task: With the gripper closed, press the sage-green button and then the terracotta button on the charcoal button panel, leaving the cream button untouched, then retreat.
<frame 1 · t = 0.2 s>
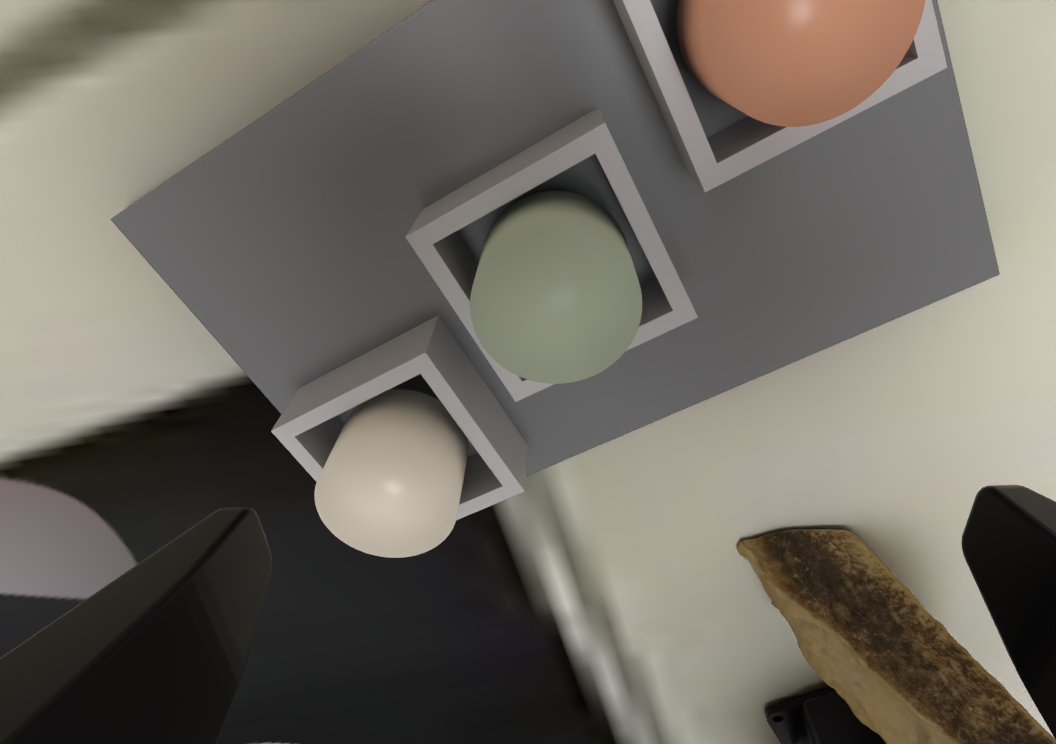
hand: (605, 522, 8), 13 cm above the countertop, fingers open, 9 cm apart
sage button: (555, 285, 16), point 4 cm above the countertop, slide at 0.0 cm
panel: (554, 236, 20), on the countertop
cream button: (397, 472, 20), point 4 cm above the countertop, slide at 0.0 cm
terracotta button: (787, 11, 13), point 4 cm above the countertop, slide at 0.0 cm
rock: (841, 604, 28), on the countertop, touching arm
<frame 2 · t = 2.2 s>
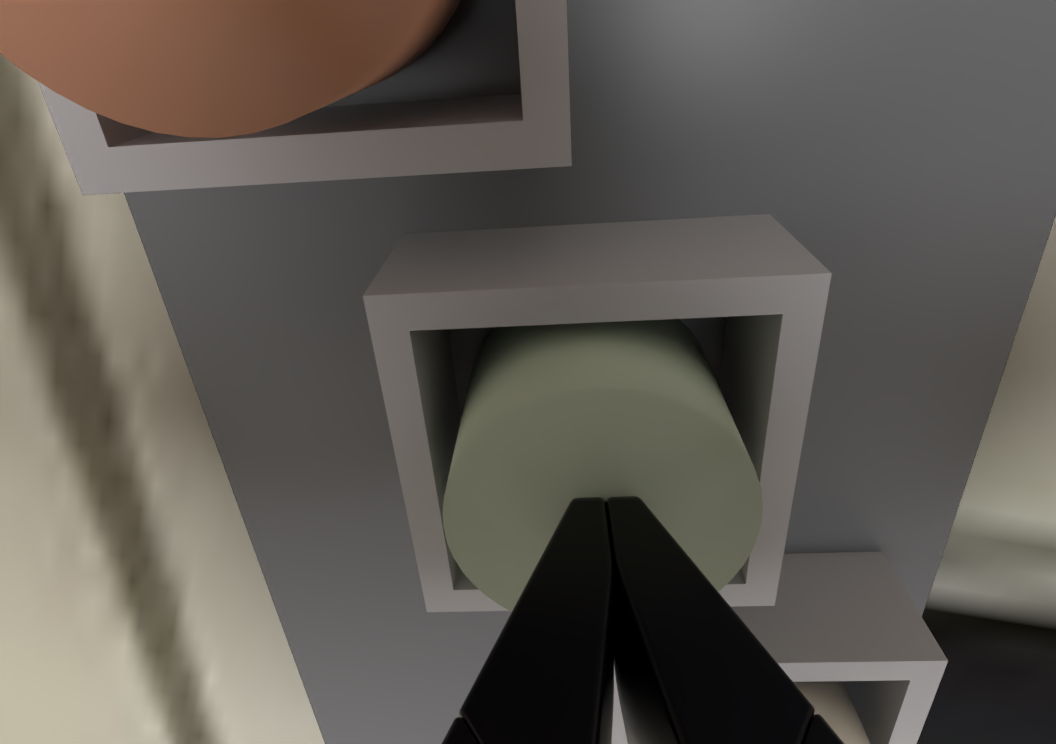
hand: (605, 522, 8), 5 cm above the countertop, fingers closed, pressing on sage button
sage button: (593, 453, 10), point 3 cm above the countertop, slide at 0.9 cm, touching gripper
panel: (584, 355, 12), on the countertop
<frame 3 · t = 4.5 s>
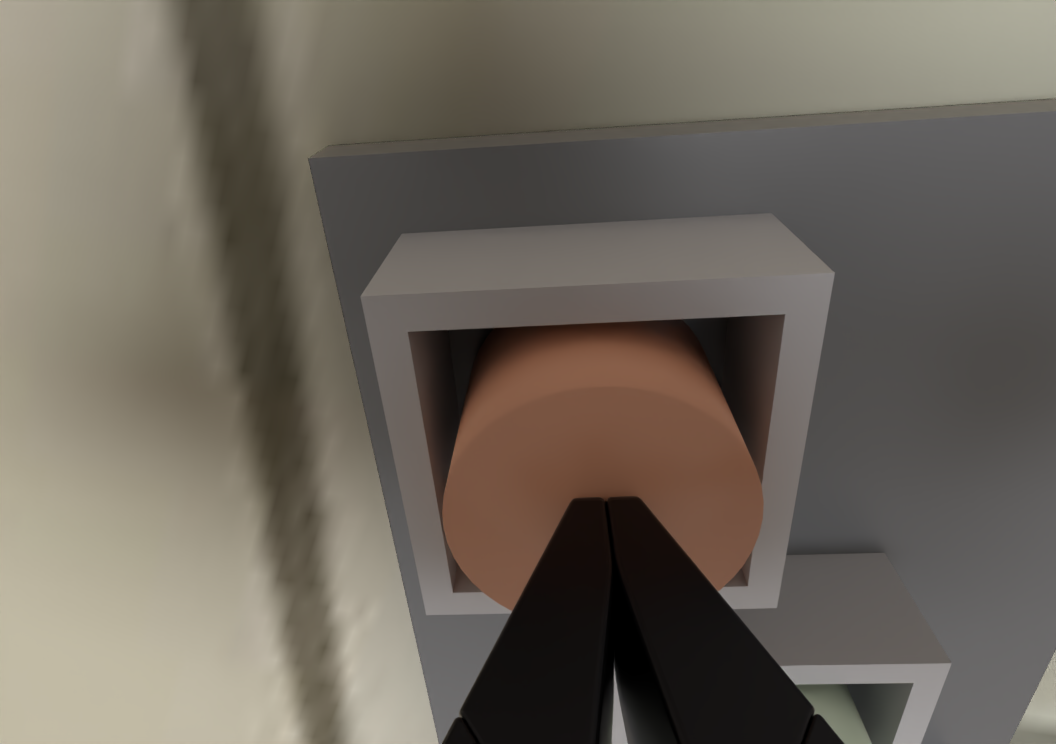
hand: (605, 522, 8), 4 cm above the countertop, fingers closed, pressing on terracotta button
sage button: (753, 735, 13), point 3 cm above the countertop, slide at 1.0 cm
panel: (719, 612, 15), on the countertop
terracotta button: (594, 452, 10), point 3 cm above the countertop, slide at 1.0 cm, touching gripper
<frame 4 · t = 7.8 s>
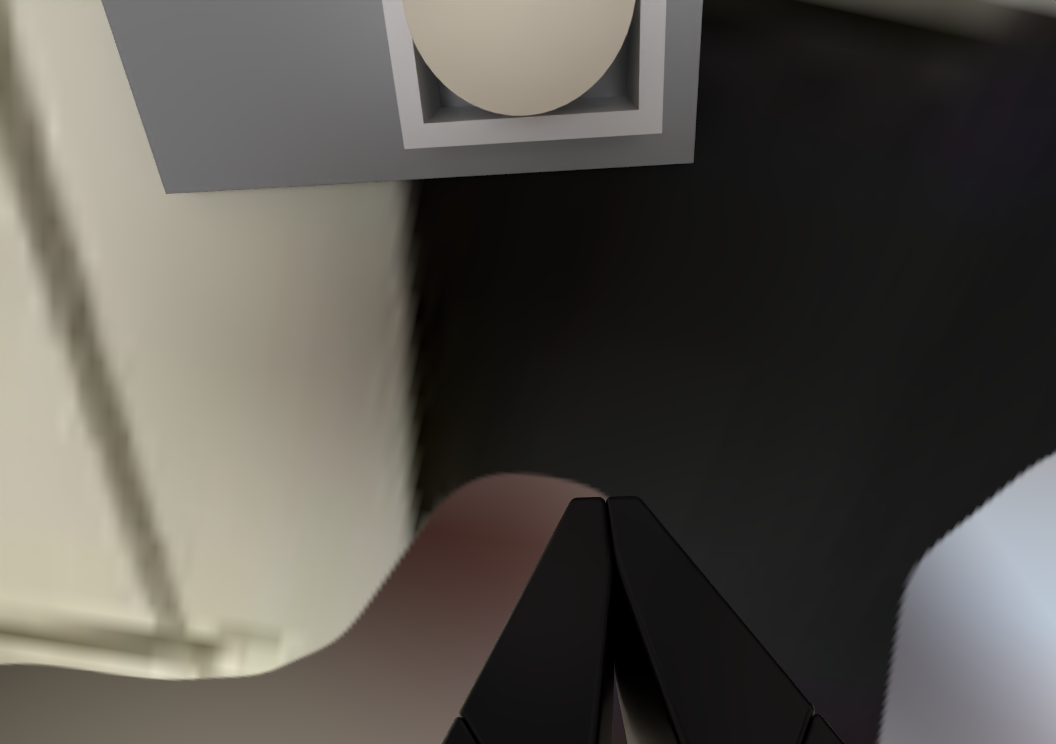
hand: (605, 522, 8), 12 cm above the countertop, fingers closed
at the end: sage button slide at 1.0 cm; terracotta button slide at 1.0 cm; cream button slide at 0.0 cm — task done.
